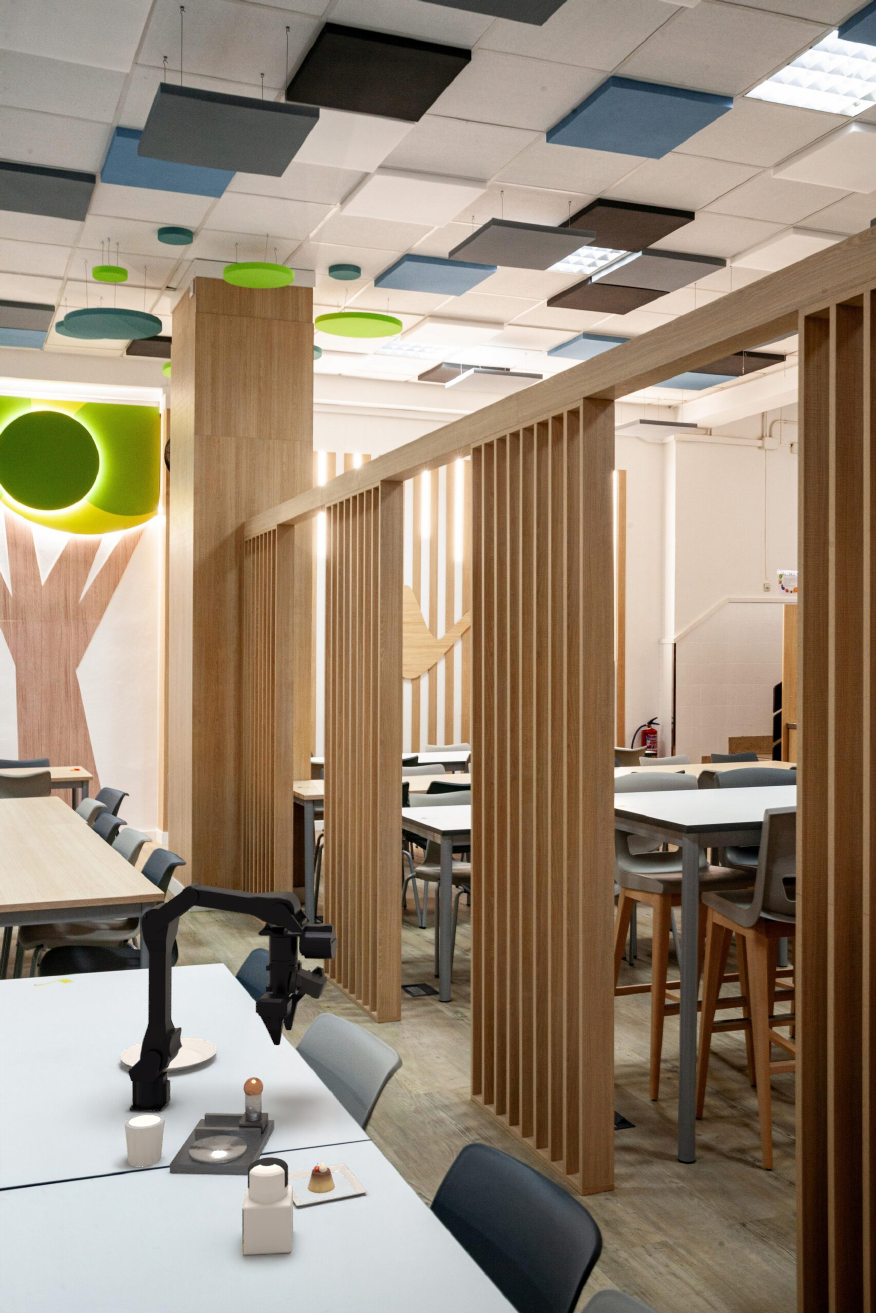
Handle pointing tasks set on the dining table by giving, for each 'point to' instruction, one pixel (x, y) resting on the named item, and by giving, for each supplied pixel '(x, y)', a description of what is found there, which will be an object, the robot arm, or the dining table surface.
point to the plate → (186, 1057)
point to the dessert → (326, 1181)
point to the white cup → (144, 1139)
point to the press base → (221, 1146)
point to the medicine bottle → (267, 1208)
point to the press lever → (253, 1105)
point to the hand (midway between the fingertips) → (282, 1037)
